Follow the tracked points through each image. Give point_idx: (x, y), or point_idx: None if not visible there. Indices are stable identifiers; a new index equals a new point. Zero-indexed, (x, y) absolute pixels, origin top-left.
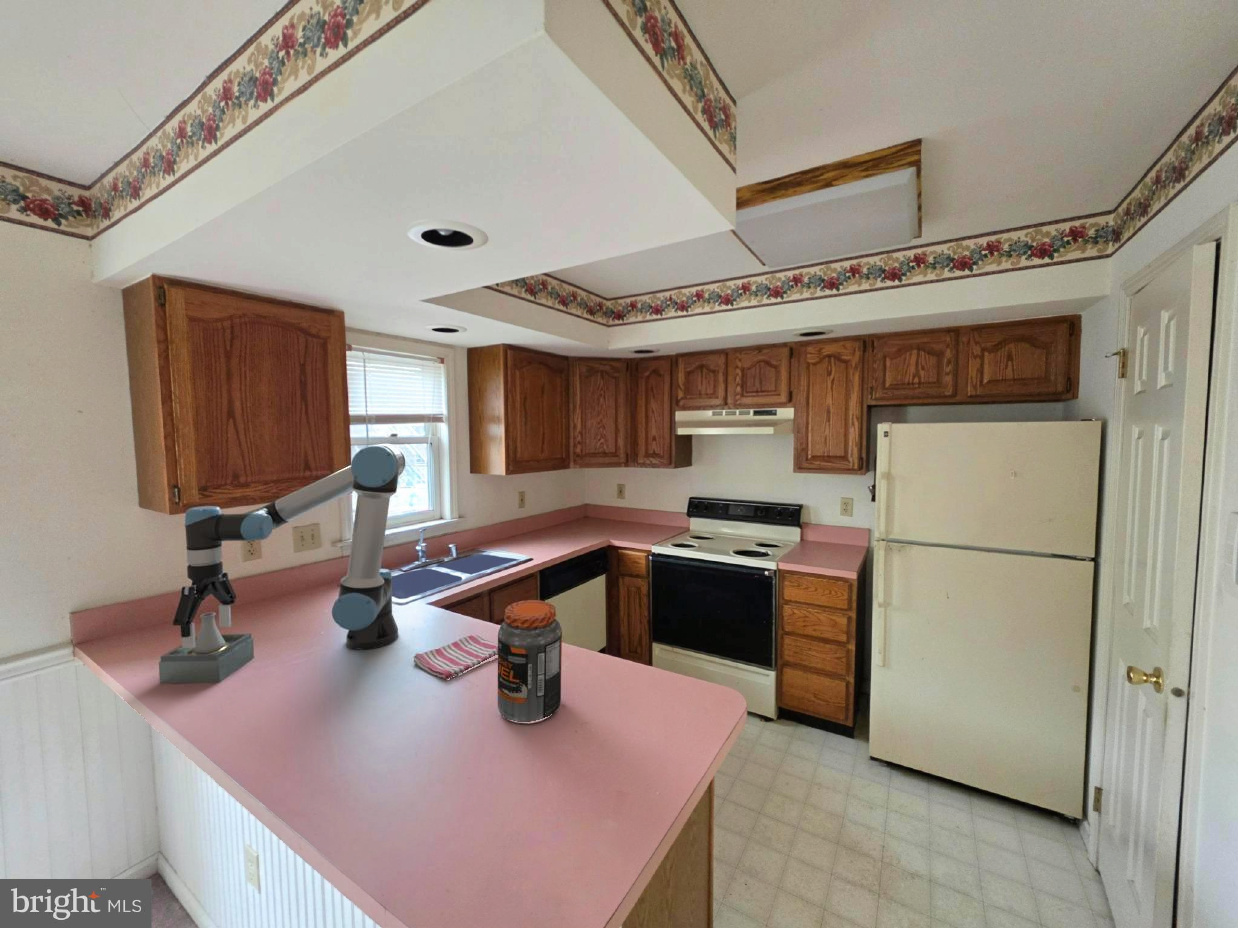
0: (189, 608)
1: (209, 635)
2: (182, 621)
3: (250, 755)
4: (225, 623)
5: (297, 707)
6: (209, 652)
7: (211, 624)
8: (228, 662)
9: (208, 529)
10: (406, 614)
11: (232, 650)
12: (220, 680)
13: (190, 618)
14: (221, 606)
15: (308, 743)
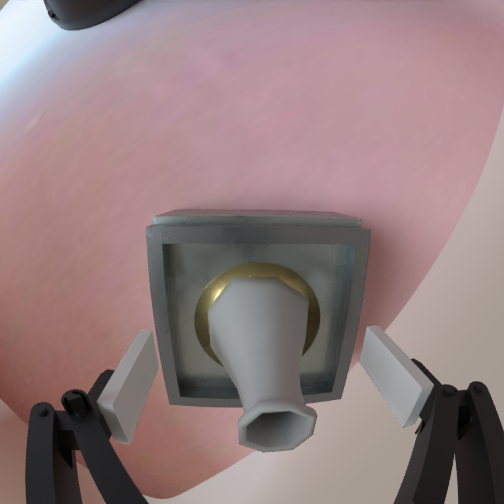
0: (491, 441)
1: (295, 337)
2: (488, 393)
3: (494, 63)
4: (149, 355)
5: (415, 17)
6: (302, 295)
7: (284, 369)
8: (306, 214)
9: None
10: (6, 24)
11: (276, 224)
12: (331, 212)
13: (455, 406)
14: (126, 430)
15: (466, 11)
